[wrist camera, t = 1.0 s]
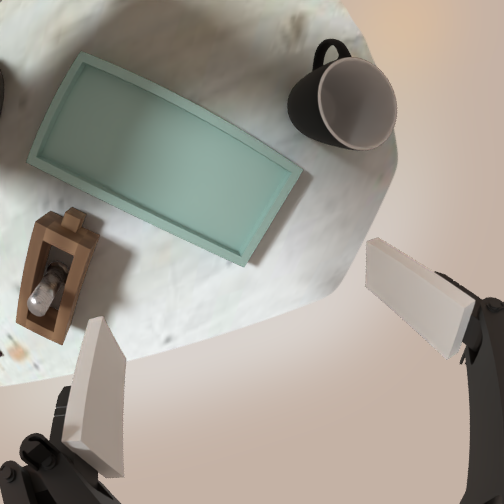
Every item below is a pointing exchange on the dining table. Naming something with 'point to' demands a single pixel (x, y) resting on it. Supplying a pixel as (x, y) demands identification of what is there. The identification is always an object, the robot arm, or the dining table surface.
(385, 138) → the mug
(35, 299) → the silver cylindrical piece
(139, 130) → the tray
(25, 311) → the wooden rectangular frame
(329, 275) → the dining table surface
